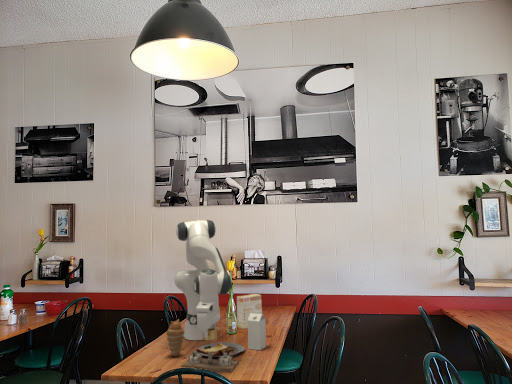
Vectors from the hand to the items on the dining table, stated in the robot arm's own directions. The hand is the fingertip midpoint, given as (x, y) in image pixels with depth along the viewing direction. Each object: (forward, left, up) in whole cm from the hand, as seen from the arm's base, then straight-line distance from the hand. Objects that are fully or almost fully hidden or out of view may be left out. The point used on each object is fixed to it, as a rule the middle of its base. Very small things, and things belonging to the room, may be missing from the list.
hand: (209, 334), depth 198 cm
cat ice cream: (-11, -23, -15) cm, 30 cm away
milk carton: (-32, +14, -15) cm, 38 cm away
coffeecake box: (-77, -3, -15) cm, 79 cm away
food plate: (-21, -3, -15) cm, 26 cm away
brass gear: (0, 0, -2) cm, 2 cm away
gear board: (0, 0, -15) cm, 15 cm away
